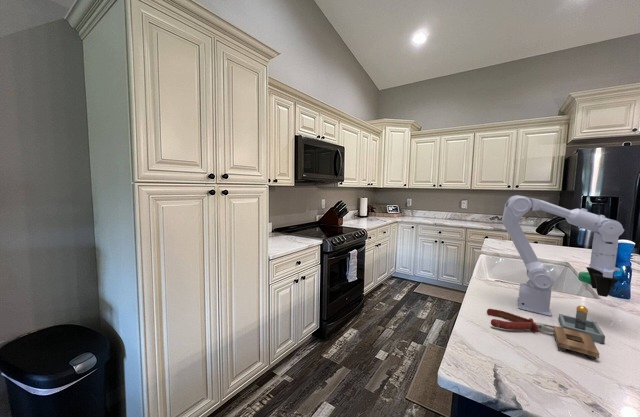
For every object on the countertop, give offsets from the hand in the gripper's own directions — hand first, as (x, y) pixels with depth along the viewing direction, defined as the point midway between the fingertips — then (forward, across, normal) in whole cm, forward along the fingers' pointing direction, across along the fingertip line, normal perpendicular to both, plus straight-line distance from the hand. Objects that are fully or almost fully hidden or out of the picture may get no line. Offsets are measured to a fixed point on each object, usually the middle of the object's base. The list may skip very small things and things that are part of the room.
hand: (599, 292), depth 89 cm
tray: (+10, -13, +6) cm, 18 cm away
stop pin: (+10, -13, +6) cm, 17 cm away
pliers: (+10, -23, +21) cm, 33 cm away
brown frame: (+10, -25, +9) cm, 29 cm away
